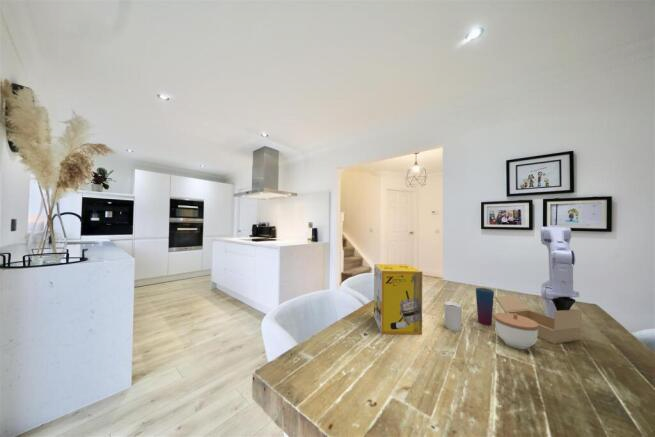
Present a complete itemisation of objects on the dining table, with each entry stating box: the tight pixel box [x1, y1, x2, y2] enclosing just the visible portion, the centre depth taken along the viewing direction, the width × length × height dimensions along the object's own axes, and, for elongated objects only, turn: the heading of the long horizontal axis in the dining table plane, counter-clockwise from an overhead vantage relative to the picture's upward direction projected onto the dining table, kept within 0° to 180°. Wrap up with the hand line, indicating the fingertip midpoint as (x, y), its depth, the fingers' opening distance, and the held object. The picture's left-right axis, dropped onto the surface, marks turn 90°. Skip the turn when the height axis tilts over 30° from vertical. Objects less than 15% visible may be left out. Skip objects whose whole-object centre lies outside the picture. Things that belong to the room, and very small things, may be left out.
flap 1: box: [494, 294, 528, 313], centre depth 105 cm, size 13×7×1 cm
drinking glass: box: [443, 300, 463, 332], centre depth 96 cm, size 7×7×10 cm
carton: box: [504, 309, 581, 345], centre depth 94 cm, size 14×18×5 cm
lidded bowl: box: [493, 312, 539, 350], centre depth 83 cm, size 13×13×11 cm
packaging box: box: [373, 263, 423, 335], centre depth 98 cm, size 16×16×25 cm
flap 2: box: [554, 308, 583, 330], centre depth 85 cm, size 13×7×1 cm
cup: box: [475, 286, 495, 326], centre depth 101 cm, size 7×7×15 cm
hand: (562, 316), depth 86 cm, fingers closed, pressing on flap 2
